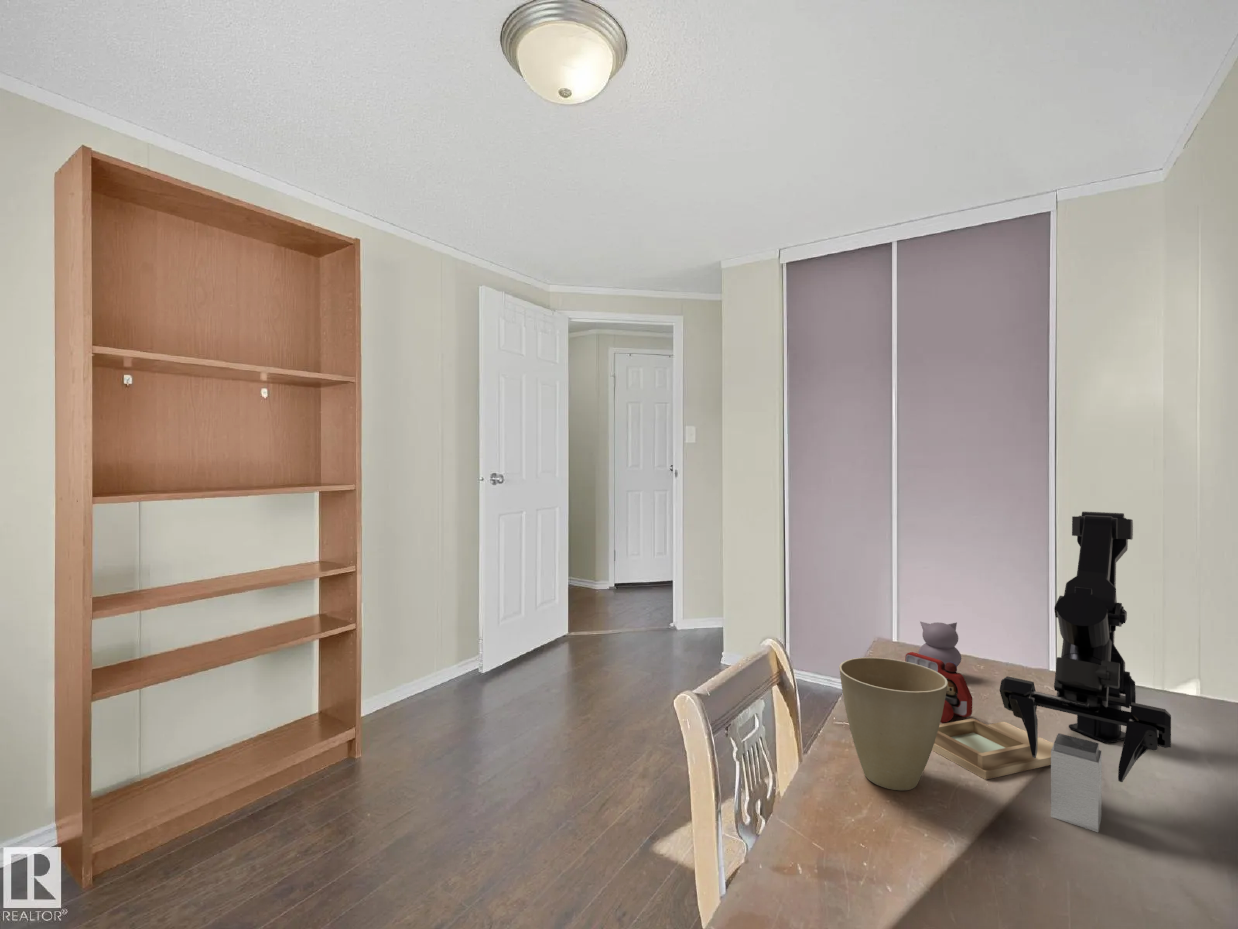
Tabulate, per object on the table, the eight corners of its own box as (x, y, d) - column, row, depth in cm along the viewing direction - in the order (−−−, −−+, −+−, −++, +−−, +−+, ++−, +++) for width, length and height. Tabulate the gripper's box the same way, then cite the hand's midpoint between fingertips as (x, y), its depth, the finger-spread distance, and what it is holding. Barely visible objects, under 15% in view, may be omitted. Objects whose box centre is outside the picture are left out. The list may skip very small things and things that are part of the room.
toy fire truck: (959, 730, 107) (959, 672, 107) (895, 706, 117) (895, 653, 117) (980, 721, 111) (980, 665, 111) (916, 698, 121) (916, 647, 121)
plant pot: (908, 818, 80) (908, 699, 80) (818, 770, 93) (818, 667, 93) (968, 786, 88) (968, 678, 88) (877, 746, 101) (878, 651, 101)
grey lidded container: (1055, 803, 84) (1055, 732, 84) (1101, 817, 80) (1101, 743, 80) (1050, 817, 81) (1051, 743, 81) (1098, 832, 77) (1098, 755, 77)
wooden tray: (1003, 728, 107) (1003, 710, 107) (1073, 759, 96) (1073, 739, 96) (921, 744, 101) (921, 725, 101) (985, 779, 90) (985, 758, 90)
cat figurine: (925, 681, 131) (925, 626, 131) (913, 669, 138) (913, 617, 138) (967, 684, 129) (967, 628, 129) (953, 671, 137) (953, 619, 137)
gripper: (1002, 622, 90) (985, 718, 82) (1171, 648, 77) (1170, 765, 69) (1012, 662, 96) (997, 755, 88) (1171, 692, 83) (1170, 805, 75)
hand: (1075, 768), depth 80 cm, fingers open, 9 cm apart
